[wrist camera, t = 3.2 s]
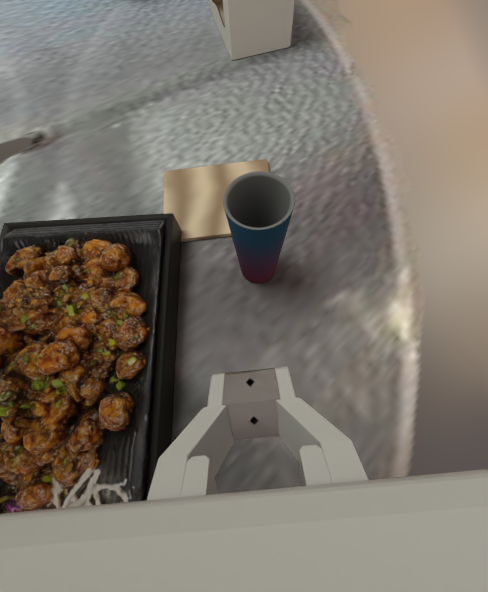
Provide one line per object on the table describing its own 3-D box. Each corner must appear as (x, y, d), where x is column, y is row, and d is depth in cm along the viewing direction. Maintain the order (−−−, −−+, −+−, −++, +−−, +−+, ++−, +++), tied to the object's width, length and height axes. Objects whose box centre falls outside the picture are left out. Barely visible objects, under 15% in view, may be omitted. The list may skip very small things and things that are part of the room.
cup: (231, 252, 40) (217, 178, 25) (274, 243, 40) (284, 165, 26) (240, 293, 37) (230, 236, 23) (286, 283, 37) (303, 221, 23)
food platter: (163, 614, 26) (106, 754, 16) (-69, 616, 27) (-255, 750, 17) (181, 230, 40) (157, 181, 31) (29, 238, 41) (-42, 194, 31)
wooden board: (165, 243, 41) (163, 241, 40) (165, 174, 45) (163, 171, 45) (278, 230, 40) (279, 227, 40) (267, 162, 45) (267, 159, 44)
